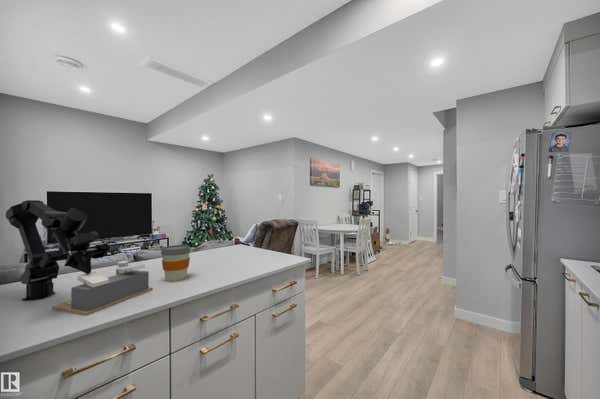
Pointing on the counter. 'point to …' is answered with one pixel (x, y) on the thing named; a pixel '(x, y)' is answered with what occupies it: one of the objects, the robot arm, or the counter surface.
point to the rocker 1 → (93, 279)
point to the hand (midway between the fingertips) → (89, 272)
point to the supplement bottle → (122, 266)
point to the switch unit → (106, 293)
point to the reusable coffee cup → (175, 262)
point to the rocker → (131, 268)
